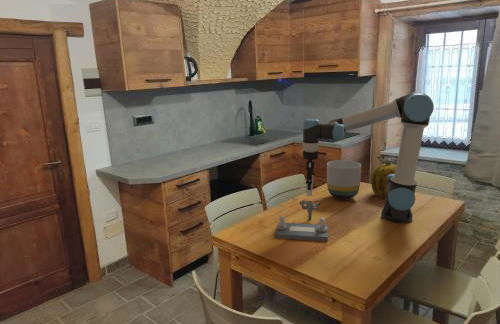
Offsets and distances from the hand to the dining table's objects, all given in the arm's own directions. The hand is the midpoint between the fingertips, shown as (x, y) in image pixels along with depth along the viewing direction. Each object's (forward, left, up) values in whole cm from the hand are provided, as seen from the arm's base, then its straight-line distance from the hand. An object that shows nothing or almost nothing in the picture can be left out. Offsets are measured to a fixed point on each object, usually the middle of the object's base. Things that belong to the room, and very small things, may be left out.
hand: (309, 191), depth 193 cm
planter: (-18, -36, -16) cm, 43 cm away
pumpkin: (-44, -43, -16) cm, 64 cm away
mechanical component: (0, 0, -16) cm, 16 cm away
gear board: (+3, +17, -16) cm, 23 cm away
